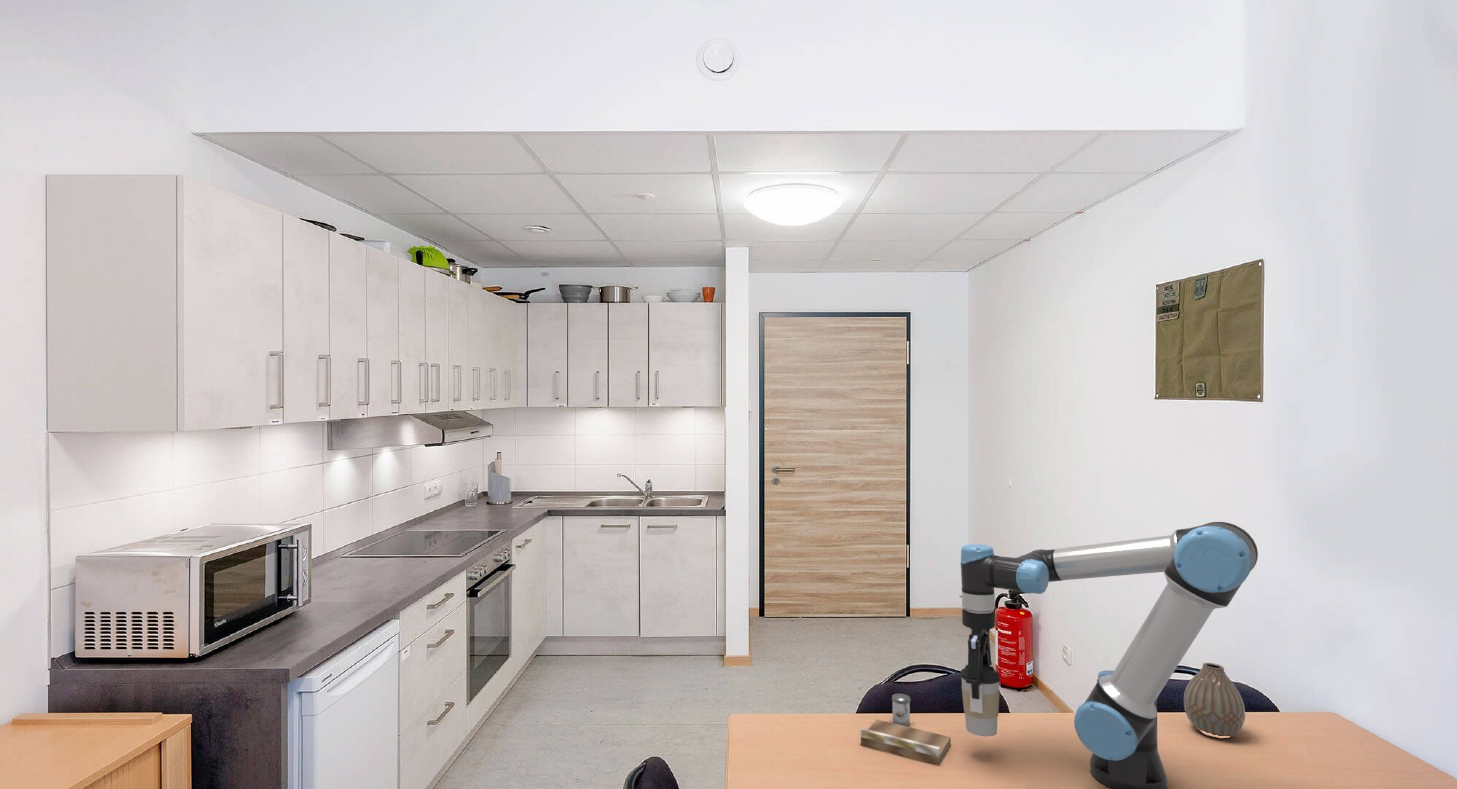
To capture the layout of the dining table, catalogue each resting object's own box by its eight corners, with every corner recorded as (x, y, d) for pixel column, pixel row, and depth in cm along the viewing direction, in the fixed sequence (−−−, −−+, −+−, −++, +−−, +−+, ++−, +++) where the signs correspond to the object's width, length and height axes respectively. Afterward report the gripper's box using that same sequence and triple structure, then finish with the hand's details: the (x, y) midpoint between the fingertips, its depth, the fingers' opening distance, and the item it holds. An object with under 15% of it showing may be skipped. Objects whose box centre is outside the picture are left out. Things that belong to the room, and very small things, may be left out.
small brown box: (950, 745, 171) (950, 729, 171) (938, 766, 161) (938, 749, 161) (876, 727, 181) (876, 712, 181) (860, 745, 170) (860, 729, 170)
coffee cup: (1004, 740, 160) (1003, 674, 161) (964, 737, 162) (962, 671, 163) (997, 724, 169) (996, 661, 170) (959, 721, 171) (957, 659, 172)
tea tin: (912, 723, 183) (912, 695, 184) (907, 730, 179) (907, 701, 180) (895, 719, 186) (895, 692, 186) (889, 725, 182) (889, 698, 182)
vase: (1172, 725, 184) (1171, 659, 185) (1208, 719, 188) (1207, 654, 188) (1220, 748, 171) (1219, 676, 172) (1258, 741, 175) (1257, 671, 176)
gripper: (971, 598, 178) (973, 687, 177) (952, 618, 160) (954, 717, 158) (1002, 601, 174) (1004, 692, 173) (985, 622, 156) (988, 724, 155)
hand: (980, 704), depth 166 cm, fingers closed on coffee cup, 9 cm apart
